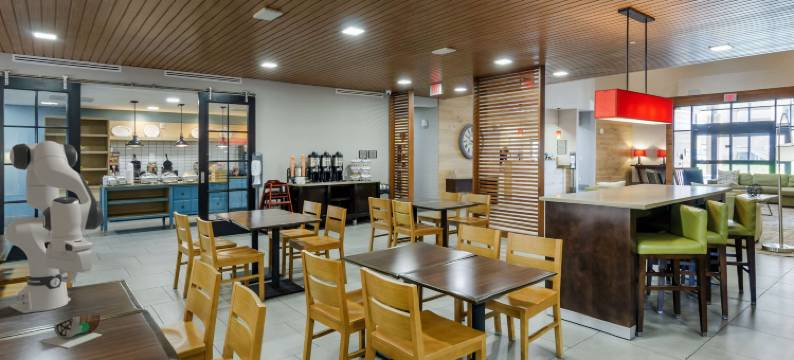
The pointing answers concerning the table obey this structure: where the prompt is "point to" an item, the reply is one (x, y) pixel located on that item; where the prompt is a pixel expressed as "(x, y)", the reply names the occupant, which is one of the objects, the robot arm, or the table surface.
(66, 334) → the food container
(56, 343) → the cream flat rectangular plate
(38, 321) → the table surface
